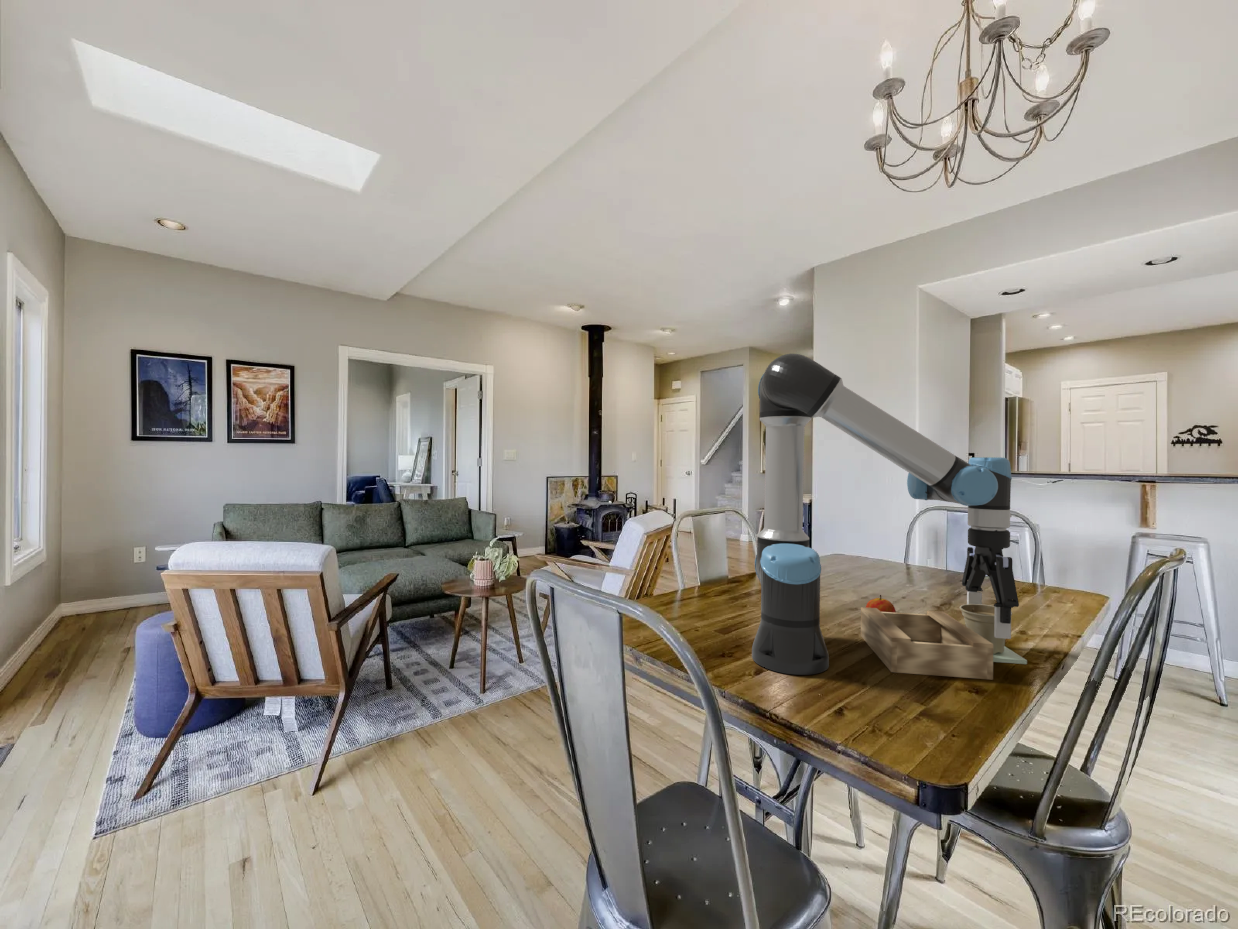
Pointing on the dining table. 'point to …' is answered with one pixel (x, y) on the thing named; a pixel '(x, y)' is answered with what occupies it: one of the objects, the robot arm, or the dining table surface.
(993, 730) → the dining table surface
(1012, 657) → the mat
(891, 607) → the fruit
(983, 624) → the flower pot
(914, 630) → the crate
